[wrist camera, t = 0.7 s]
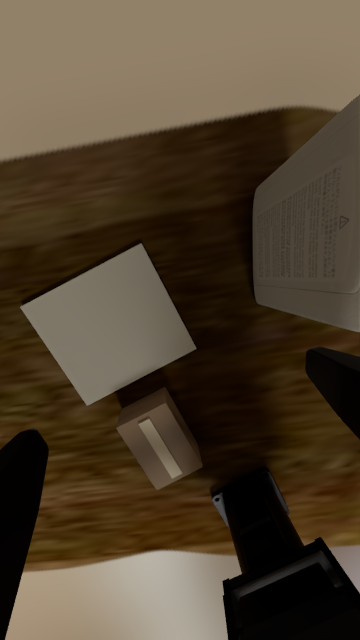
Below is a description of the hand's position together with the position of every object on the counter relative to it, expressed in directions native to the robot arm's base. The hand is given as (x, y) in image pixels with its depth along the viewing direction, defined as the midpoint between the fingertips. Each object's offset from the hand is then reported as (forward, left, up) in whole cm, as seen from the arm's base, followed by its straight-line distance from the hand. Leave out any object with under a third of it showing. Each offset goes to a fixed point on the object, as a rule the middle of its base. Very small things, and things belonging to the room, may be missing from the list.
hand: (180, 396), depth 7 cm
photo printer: (+1, -11, -13) cm, 17 cm away
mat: (+2, +4, -13) cm, 13 cm away
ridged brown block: (-9, +5, -13) cm, 16 cm away
